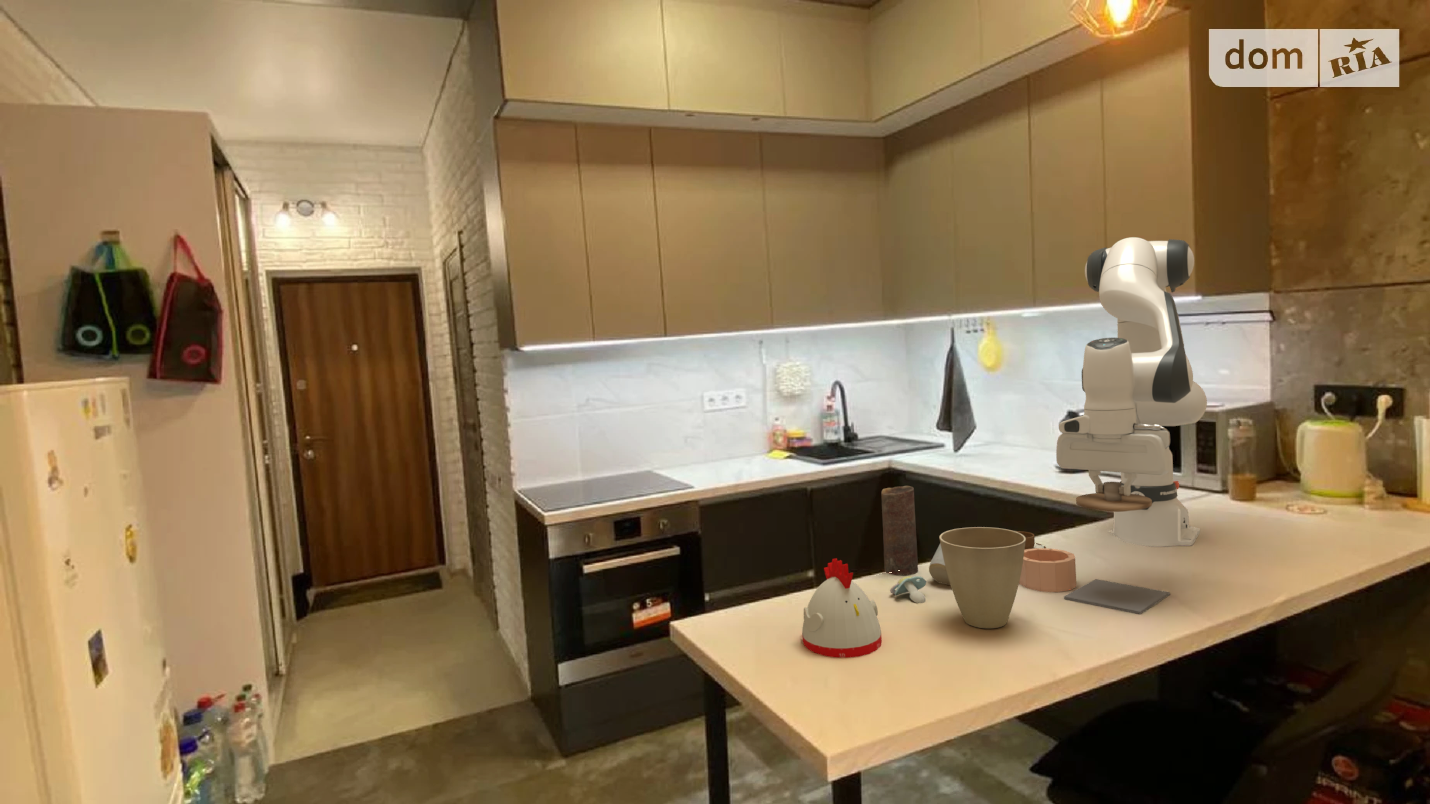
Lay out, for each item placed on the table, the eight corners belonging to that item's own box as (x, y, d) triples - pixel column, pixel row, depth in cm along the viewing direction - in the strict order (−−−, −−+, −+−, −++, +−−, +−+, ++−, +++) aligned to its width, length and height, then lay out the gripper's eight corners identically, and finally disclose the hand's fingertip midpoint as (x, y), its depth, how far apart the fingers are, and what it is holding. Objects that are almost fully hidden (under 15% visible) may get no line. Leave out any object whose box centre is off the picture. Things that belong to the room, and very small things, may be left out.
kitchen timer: (829, 664, 128) (823, 576, 127) (788, 638, 141) (783, 557, 140) (897, 646, 134) (893, 561, 133) (853, 622, 146) (848, 545, 145)
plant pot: (929, 626, 141) (925, 541, 140) (963, 603, 152) (959, 524, 151) (1011, 643, 131) (1007, 551, 130) (1041, 616, 142) (1037, 531, 141)
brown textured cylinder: (919, 580, 169) (914, 490, 167) (885, 581, 170) (880, 491, 169) (917, 570, 176) (912, 484, 175) (884, 570, 178) (879, 485, 176)
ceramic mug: (942, 591, 165) (918, 566, 165) (958, 564, 169) (935, 539, 169) (977, 585, 156) (952, 558, 156) (993, 556, 160) (969, 530, 160)
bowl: (1034, 572, 168) (1033, 545, 168) (1085, 581, 160) (1084, 553, 160) (1008, 585, 161) (1007, 557, 161) (1060, 595, 153) (1058, 565, 153)
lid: (1094, 498, 158) (1093, 474, 158) (1163, 504, 148) (1162, 480, 148) (1064, 510, 150) (1063, 485, 149) (1135, 518, 140) (1134, 492, 139)
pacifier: (911, 586, 162) (922, 569, 158) (927, 612, 158) (940, 595, 154) (883, 593, 159) (894, 576, 155) (899, 619, 154) (911, 602, 151)
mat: (1095, 581, 160) (1095, 579, 160) (1169, 594, 149) (1169, 592, 149) (1064, 598, 151) (1064, 596, 151) (1140, 614, 140) (1140, 611, 140)
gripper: (1176, 422, 142) (1178, 496, 143) (1065, 419, 158) (1068, 486, 158) (1162, 426, 138) (1165, 502, 139) (1050, 423, 153) (1054, 492, 154)
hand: (1112, 494), depth 149 cm, fingers closed on lid, 3 cm apart
